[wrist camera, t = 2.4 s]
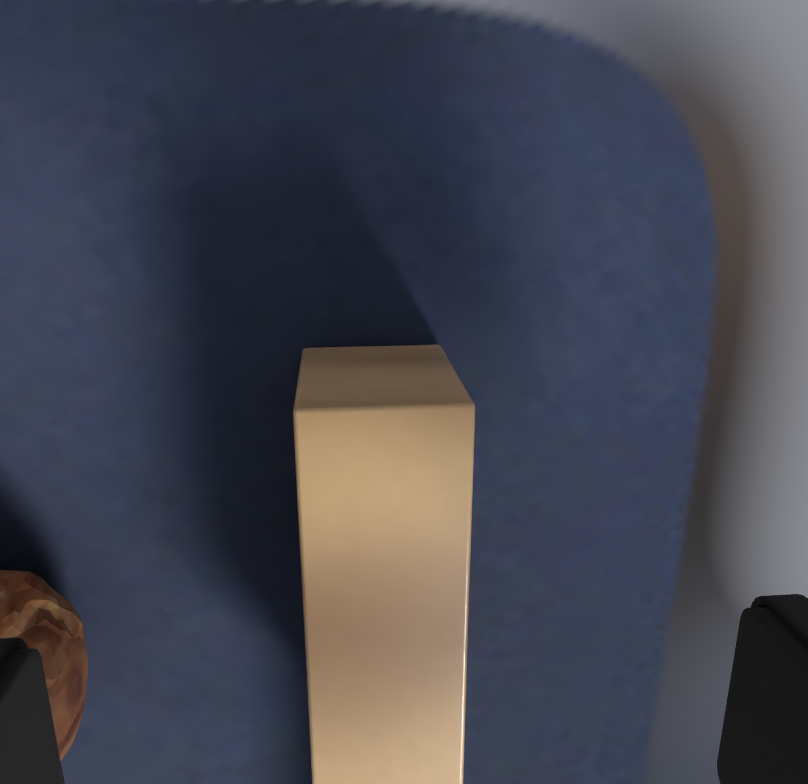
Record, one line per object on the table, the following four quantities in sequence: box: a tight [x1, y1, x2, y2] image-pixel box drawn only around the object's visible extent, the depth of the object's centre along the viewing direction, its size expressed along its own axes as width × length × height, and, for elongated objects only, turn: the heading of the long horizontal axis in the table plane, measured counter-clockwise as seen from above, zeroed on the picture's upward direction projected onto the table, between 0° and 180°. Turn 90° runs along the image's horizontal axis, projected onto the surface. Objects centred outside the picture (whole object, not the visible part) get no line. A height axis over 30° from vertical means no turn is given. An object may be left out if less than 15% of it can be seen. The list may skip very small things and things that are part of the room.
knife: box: [293, 345, 475, 784], centre depth 13 cm, size 15×2×3 cm, turn 0°
